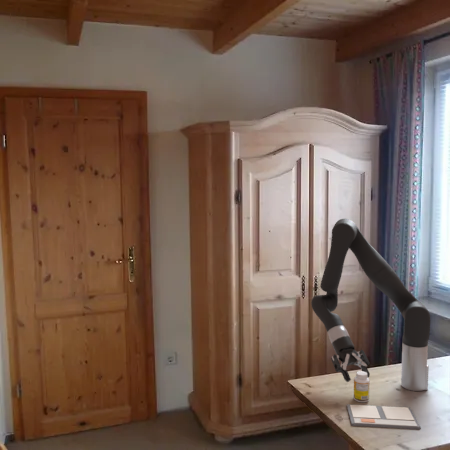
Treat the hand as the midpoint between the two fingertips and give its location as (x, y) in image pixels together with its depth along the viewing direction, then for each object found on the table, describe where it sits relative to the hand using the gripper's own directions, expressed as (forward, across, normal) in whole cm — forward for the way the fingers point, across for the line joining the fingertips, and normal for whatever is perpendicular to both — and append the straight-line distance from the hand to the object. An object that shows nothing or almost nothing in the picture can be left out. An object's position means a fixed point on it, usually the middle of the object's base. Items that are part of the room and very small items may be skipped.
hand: (358, 379), depth 187 cm
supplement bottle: (+6, 0, +4) cm, 8 cm away
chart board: (+16, -2, -6) cm, 17 cm away
